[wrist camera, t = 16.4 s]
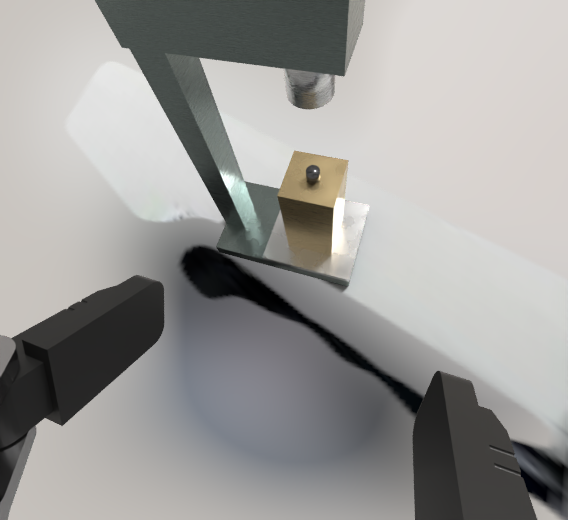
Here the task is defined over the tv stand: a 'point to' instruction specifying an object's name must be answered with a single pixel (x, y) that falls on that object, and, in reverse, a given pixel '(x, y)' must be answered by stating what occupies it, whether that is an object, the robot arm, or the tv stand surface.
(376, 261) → the tv stand surface
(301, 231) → the block
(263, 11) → the arbor press
